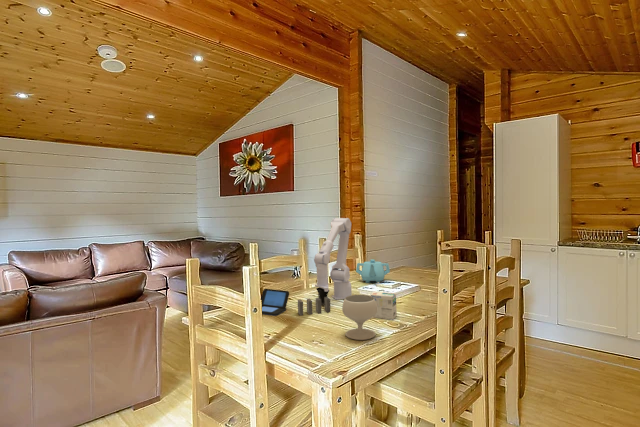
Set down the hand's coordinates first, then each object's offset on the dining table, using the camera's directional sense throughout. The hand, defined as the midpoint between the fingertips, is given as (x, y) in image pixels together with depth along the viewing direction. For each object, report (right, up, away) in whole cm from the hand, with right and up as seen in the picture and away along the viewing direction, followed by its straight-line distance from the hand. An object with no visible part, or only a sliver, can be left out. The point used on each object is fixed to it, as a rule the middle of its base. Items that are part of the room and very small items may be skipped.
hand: (323, 302), depth 195 cm
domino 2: (-7, -2, -13) cm, 15 cm away
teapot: (+33, +1, +49) cm, 59 cm away
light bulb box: (+28, -2, -21) cm, 35 cm away
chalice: (+15, -3, -44) cm, 46 cm away
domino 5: (+2, -2, -11) cm, 11 cm away
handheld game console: (-26, -3, -7) cm, 28 cm away
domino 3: (0, -1, 0) cm, 1 cm away
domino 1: (-11, -2, -14) cm, 18 cm away
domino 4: (-2, -2, -12) cm, 12 cm away
